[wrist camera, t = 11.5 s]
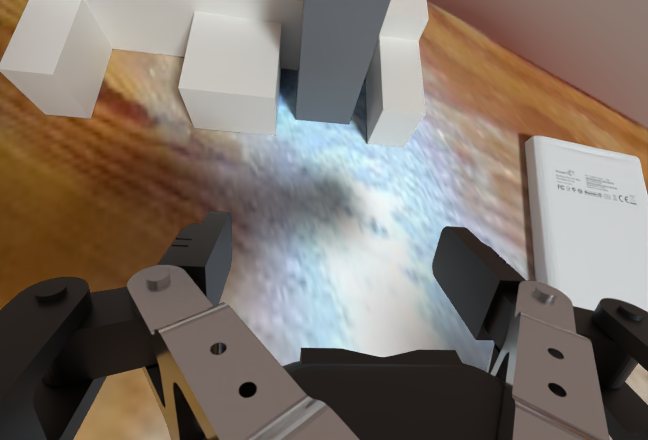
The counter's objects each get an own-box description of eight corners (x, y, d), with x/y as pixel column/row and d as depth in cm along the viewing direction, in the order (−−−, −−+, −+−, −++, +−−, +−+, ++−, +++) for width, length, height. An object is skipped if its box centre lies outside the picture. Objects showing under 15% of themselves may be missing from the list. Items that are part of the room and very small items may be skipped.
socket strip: (45, 114, 19) (-43, 31, 14) (82, 15, 22) (20, -85, 17) (403, 147, 22) (443, 87, 16) (397, 55, 24) (429, -21, 19)
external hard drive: (531, 321, 19) (519, 145, 24) (656, 343, 20) (621, 167, 24) (553, 320, 18) (535, 132, 22) (687, 343, 18) (644, 156, 23)
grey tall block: (295, 119, 21) (311, -81, 11) (297, 76, 23) (313, -141, 12) (349, 124, 22) (412, -64, 12) (348, 81, 23) (404, -124, 13)
